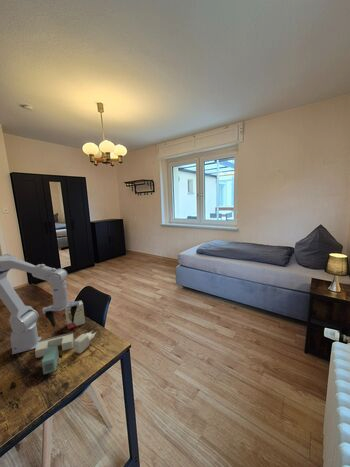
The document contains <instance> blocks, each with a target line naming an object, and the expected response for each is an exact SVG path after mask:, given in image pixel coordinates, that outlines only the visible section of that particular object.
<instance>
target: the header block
mask: <svg viewBox="0 0 350 467" xmlns="http://www.w3.org/2000/svg"><path fill="white" fill-rule="evenodd" d="M74 340H75V338H74V332H69V333H65V334H60V335H56V336H52V337H48V338H43V339H41V340H39V341H38V344H37V347H36V348H35V350H34V353H35V358H36V359H37V358H41V357H44V354H45V351H46V348H49V347H53V346H57V347H59V346H61V348H62V352H64V351H68V350H71V349H74V345H73V342H74Z"/></svg>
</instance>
